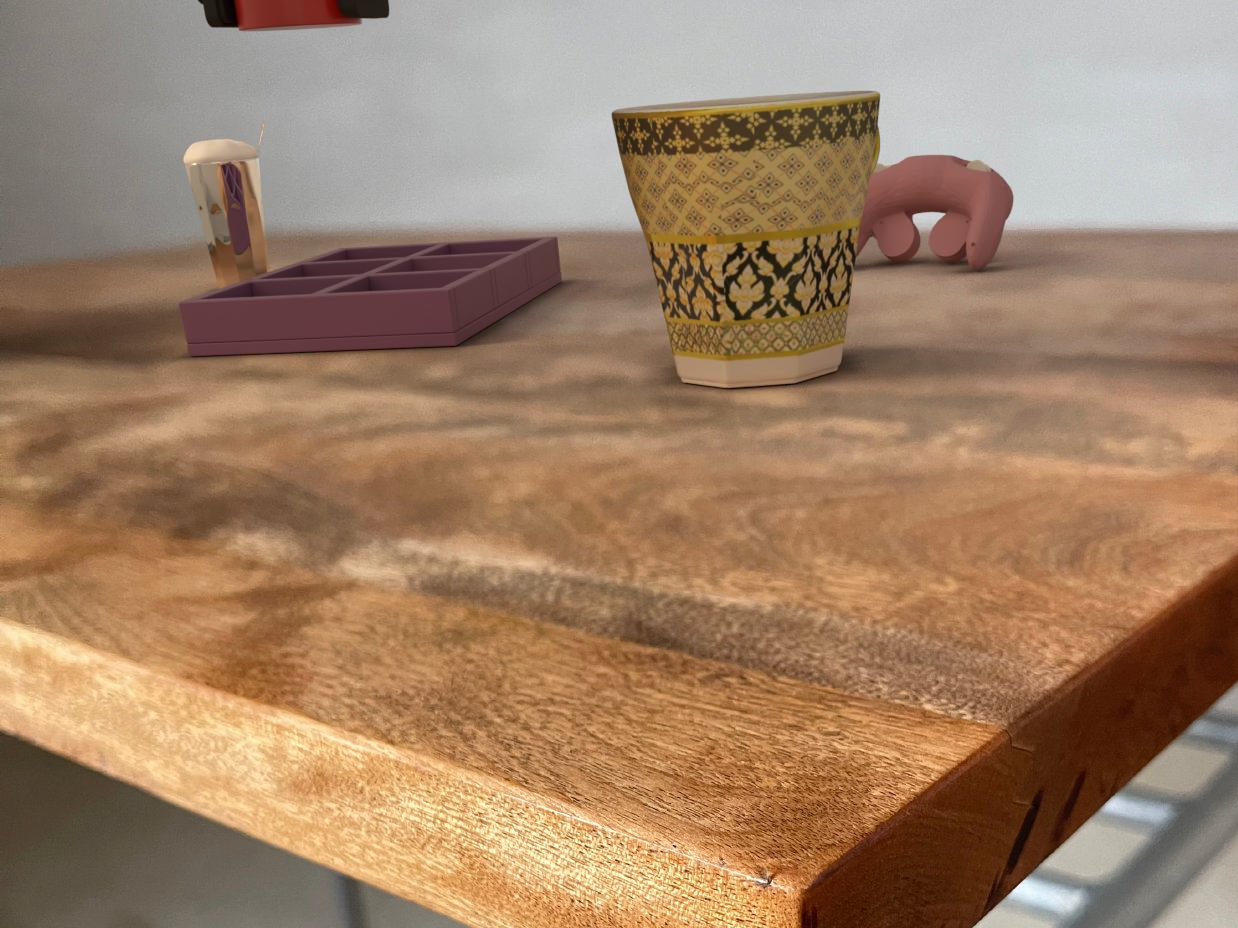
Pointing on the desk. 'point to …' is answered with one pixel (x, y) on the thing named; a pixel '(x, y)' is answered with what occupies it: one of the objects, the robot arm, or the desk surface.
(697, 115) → the ceramic cup
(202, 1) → the robot arm
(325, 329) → the purple compartment tray
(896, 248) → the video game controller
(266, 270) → the milkshake
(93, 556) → the desk surface
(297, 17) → the red cylinder
